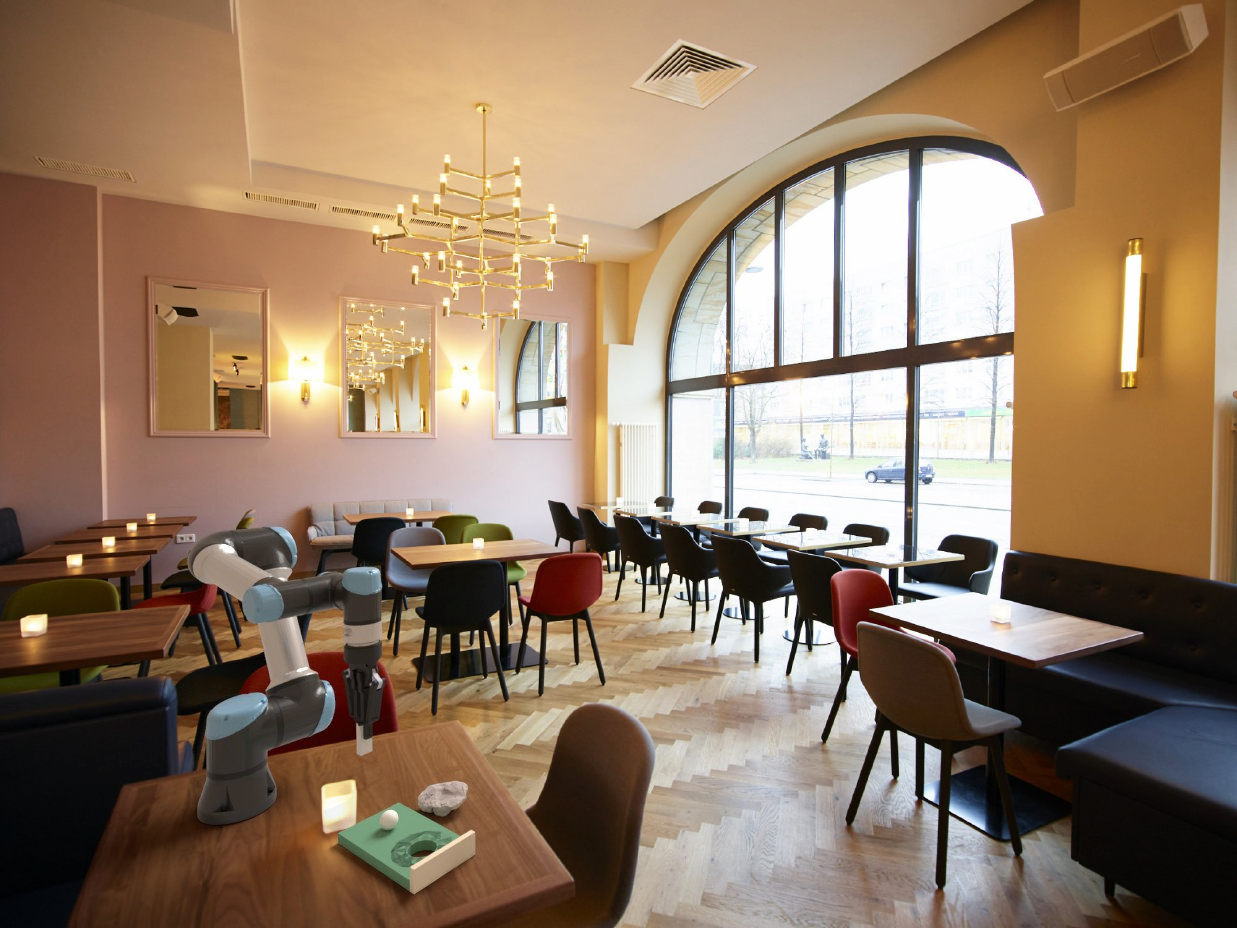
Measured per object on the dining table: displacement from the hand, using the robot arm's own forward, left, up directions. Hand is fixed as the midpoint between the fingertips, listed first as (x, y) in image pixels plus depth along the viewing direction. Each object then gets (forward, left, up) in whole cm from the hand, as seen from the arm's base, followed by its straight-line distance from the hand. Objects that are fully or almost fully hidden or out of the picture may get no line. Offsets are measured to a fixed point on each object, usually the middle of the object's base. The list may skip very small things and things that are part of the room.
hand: (364, 752), depth 133 cm
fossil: (+9, +14, -16) cm, 23 cm away
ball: (+9, 0, -11) cm, 14 cm away
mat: (+14, 0, -15) cm, 20 cm away
